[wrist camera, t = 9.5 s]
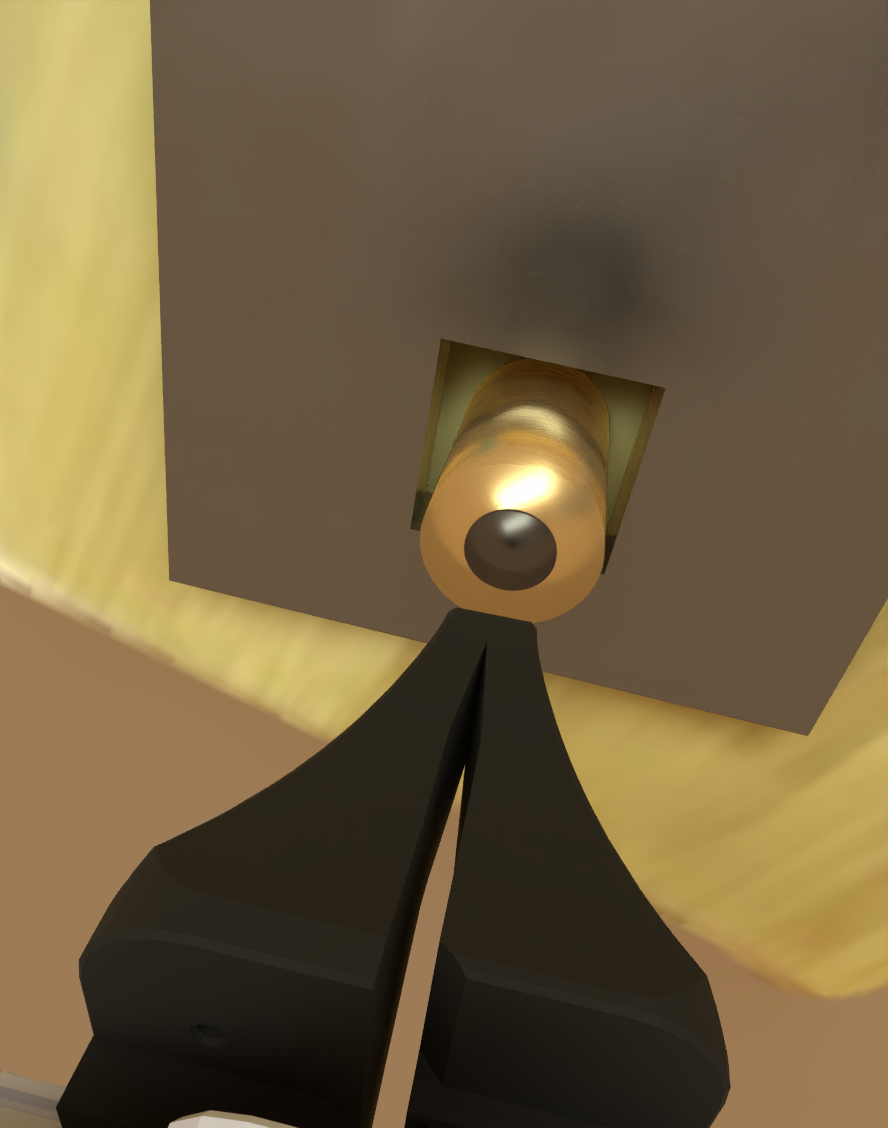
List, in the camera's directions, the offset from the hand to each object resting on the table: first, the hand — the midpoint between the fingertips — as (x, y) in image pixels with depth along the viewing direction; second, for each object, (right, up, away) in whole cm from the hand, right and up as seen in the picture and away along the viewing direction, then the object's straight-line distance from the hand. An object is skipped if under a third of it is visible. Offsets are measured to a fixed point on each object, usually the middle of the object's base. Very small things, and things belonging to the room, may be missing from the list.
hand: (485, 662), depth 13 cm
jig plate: (+2, +7, +7) cm, 10 cm away
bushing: (+2, +5, +8) cm, 9 cm away
